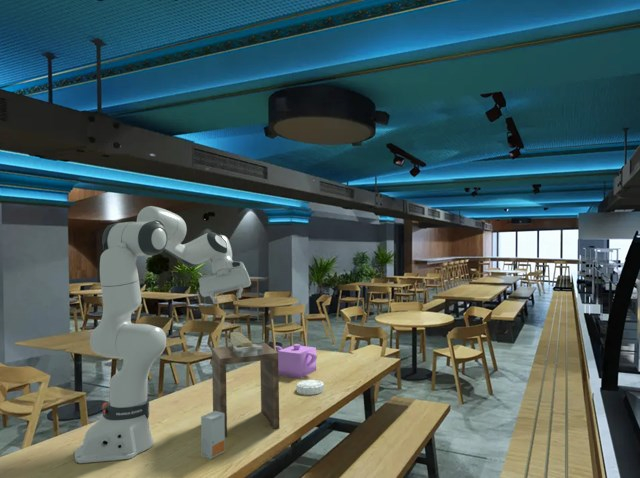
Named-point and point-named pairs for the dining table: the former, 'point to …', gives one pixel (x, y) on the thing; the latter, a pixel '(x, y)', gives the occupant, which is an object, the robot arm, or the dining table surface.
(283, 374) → the teapot
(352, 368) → the dining table surface
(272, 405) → the stand
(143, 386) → the robot arm
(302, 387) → the mooncake
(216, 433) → the skincare box
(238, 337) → the bar
